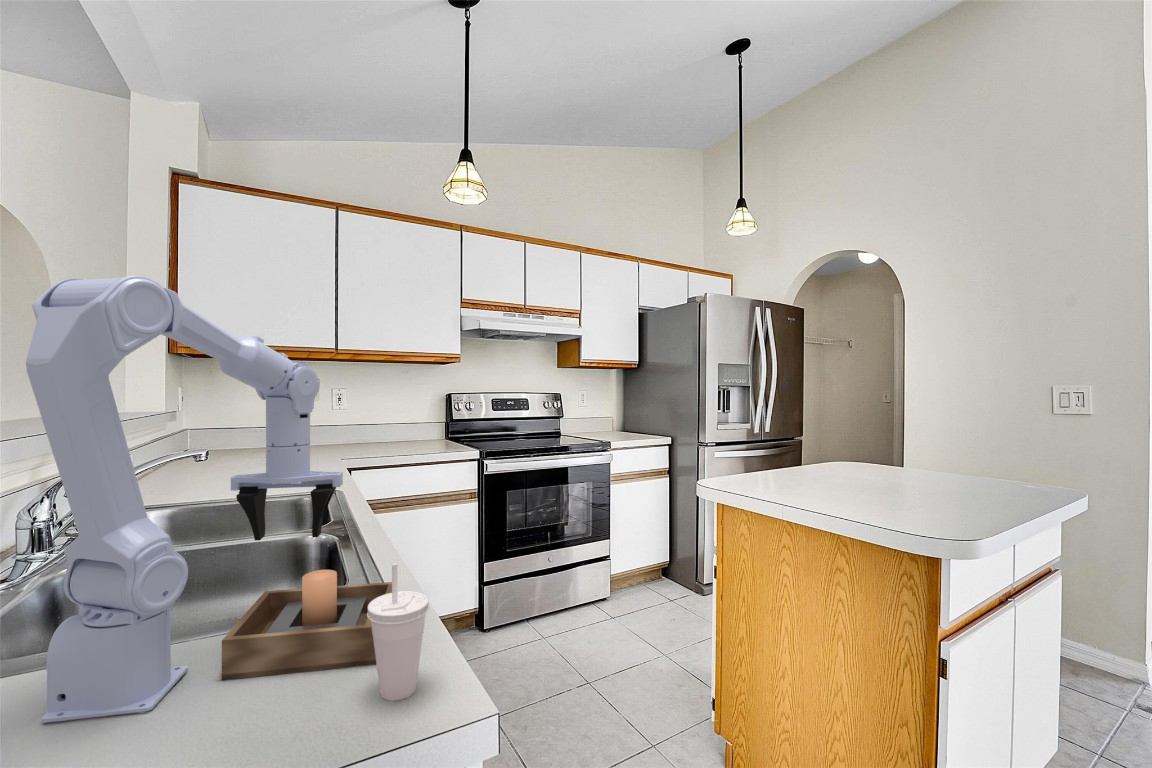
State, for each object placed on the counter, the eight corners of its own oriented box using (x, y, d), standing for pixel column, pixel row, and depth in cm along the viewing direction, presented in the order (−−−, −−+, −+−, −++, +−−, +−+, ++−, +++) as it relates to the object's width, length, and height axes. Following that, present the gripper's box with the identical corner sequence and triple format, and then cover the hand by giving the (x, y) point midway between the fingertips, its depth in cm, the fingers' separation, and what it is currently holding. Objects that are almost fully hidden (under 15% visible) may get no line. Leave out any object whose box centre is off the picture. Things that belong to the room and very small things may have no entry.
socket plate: (262, 662, 63) (262, 637, 63) (288, 623, 73) (288, 602, 73) (353, 653, 65) (353, 629, 65) (366, 616, 75) (367, 596, 75)
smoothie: (353, 697, 57) (353, 566, 57) (399, 668, 63) (399, 549, 63) (397, 715, 54) (397, 577, 54) (441, 683, 60) (441, 558, 60)
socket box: (221, 680, 60) (221, 640, 60) (265, 623, 74) (265, 591, 74) (381, 663, 64) (381, 626, 64) (394, 612, 77) (395, 581, 77)
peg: (299, 647, 66) (299, 583, 66) (305, 631, 70) (305, 571, 70) (334, 642, 68) (334, 580, 67) (338, 627, 71) (338, 568, 71)
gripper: (346, 440, 84) (346, 526, 84) (244, 441, 81) (244, 531, 81) (336, 446, 77) (336, 540, 77) (224, 448, 74) (224, 546, 74)
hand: (288, 536), depth 79 cm, fingers open, 7 cm apart
